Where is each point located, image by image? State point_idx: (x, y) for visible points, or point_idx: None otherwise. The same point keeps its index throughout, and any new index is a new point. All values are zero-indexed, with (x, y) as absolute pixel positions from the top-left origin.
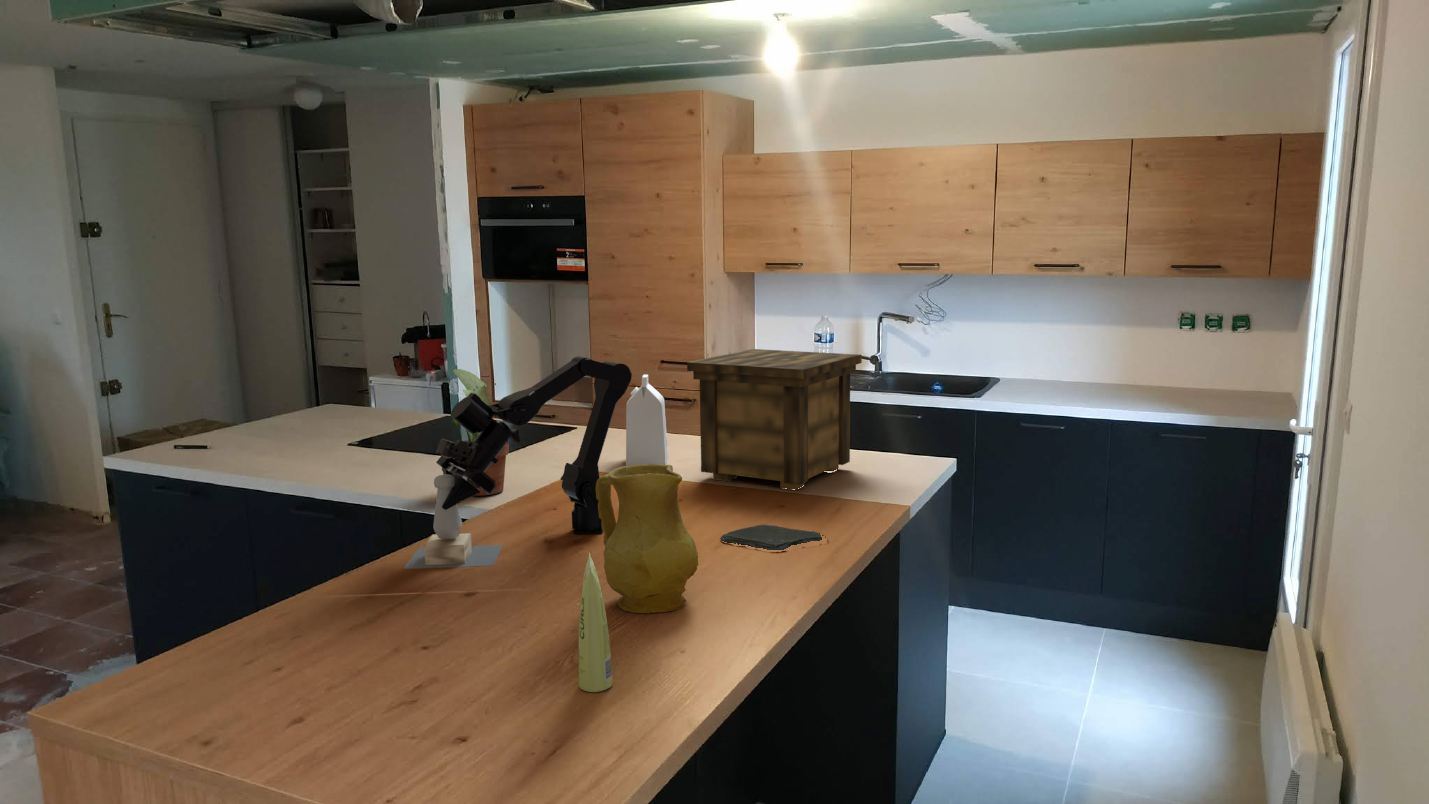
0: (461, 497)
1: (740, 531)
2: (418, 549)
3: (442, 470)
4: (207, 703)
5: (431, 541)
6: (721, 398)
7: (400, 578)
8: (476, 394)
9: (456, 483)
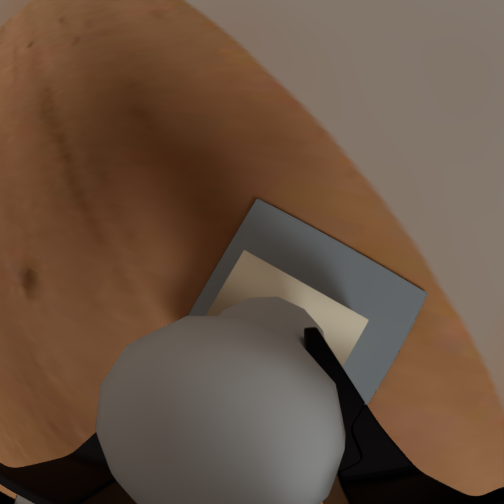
0: None
1: None
2: (412, 287)
3: (482, 496)
4: (29, 19)
5: (283, 289)
6: None
7: (197, 179)
8: None
9: (90, 466)
